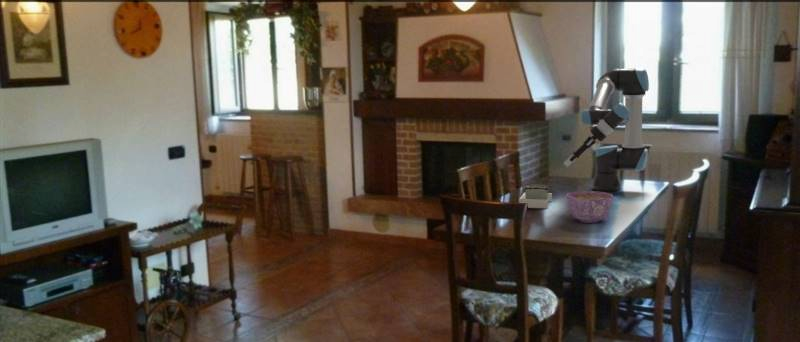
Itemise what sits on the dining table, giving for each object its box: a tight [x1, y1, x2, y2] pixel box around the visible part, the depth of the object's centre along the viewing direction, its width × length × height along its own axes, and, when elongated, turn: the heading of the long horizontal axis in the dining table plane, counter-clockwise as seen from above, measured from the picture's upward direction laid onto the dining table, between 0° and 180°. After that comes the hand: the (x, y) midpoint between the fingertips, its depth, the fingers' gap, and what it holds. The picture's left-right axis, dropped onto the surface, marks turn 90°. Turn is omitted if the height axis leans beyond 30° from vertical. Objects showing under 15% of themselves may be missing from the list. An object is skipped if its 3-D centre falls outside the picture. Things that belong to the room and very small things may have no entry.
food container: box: [523, 183, 550, 200], centre depth 365 cm, size 12×6×10 cm, turn 74°
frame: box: [518, 192, 553, 209], centre depth 368 cm, size 14×18×4 cm
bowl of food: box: [565, 190, 614, 224], centre depth 327 cm, size 20×20×12 cm
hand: (565, 165), depth 361 cm, fingers closed
